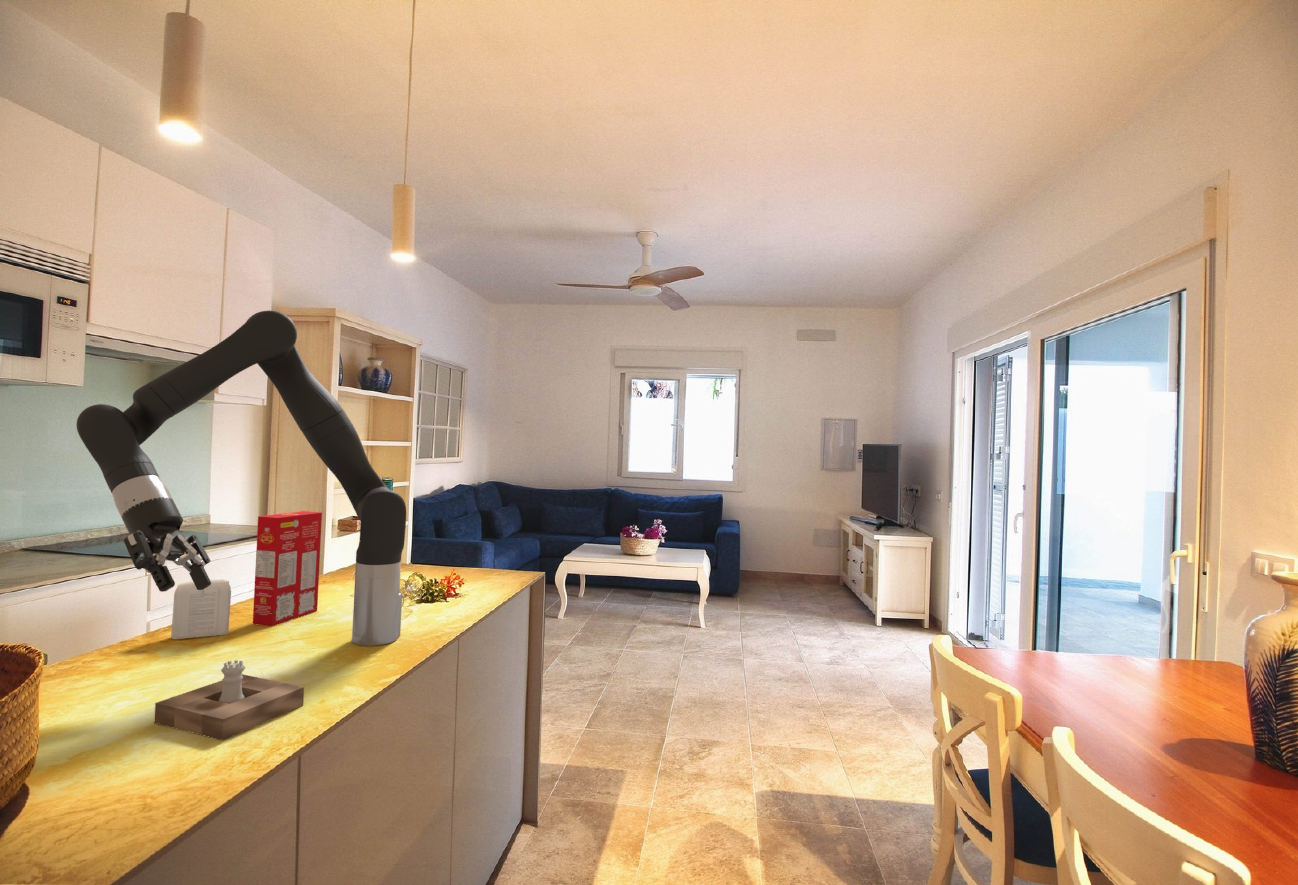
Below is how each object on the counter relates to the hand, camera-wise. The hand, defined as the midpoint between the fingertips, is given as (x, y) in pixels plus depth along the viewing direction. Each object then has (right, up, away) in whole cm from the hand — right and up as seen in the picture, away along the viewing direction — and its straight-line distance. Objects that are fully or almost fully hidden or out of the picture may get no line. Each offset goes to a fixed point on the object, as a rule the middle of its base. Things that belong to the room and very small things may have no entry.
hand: (187, 588), depth 109 cm
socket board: (+12, -18, -7) cm, 23 cm away
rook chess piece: (+12, -18, -7) cm, 23 cm away
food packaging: (-10, -18, +48) cm, 52 cm away
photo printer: (-19, -17, +31) cm, 40 cm away
